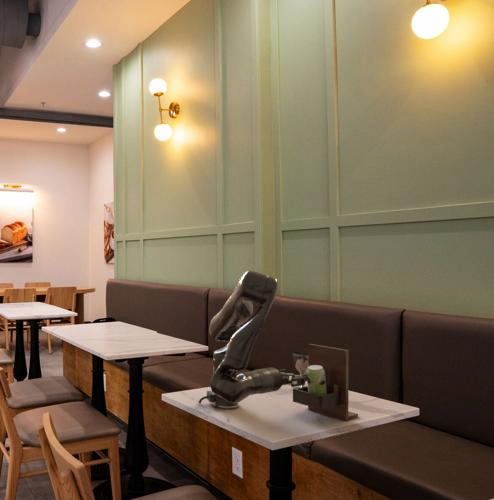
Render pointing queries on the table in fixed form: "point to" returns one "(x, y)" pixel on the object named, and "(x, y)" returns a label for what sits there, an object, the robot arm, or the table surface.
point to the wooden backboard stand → (328, 383)
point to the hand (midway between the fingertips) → (296, 374)
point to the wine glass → (301, 362)
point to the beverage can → (316, 380)
